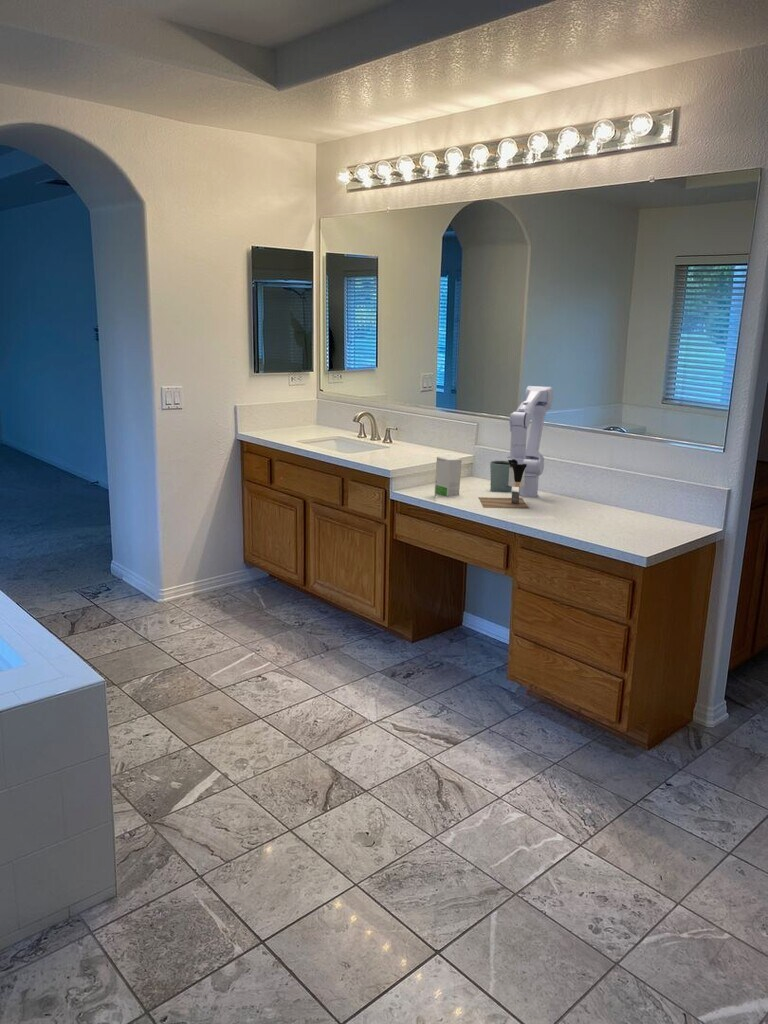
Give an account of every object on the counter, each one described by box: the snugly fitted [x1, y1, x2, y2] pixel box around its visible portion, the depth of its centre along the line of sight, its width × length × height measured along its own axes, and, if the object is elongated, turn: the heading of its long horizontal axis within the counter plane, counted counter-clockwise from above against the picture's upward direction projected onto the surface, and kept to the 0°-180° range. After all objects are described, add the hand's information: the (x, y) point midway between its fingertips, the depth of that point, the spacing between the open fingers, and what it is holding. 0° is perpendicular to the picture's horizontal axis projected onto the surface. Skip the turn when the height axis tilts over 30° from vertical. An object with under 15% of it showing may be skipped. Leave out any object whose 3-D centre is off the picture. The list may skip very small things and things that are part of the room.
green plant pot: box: [489, 460, 513, 493], centre depth 327 cm, size 10×10×12 cm
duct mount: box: [478, 491, 531, 510], centre depth 303 cm, size 18×17×5 cm
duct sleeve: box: [508, 466, 525, 488], centre depth 301 cm, size 6×6×7 cm
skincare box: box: [434, 455, 463, 497], centre depth 316 cm, size 8×7×16 cm
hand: (516, 480), depth 301 cm, fingers closed on duct sleeve, 6 cm apart
